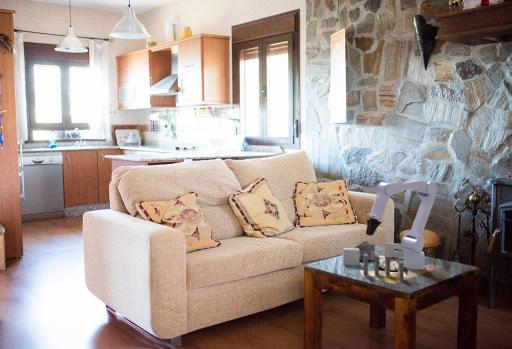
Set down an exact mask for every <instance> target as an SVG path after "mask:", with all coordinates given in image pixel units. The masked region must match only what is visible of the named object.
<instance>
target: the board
mask: <svg viewBox="0 0 512 349" xmlns="http://www.w3.org/2000/svg"><path fill="white" fill-rule="evenodd" d="M359 272H360V275H361V276H362V277H376V276H375V274H374V270H369V269H368V275H364V273H363V270H362V269H361V270H359ZM378 277H388V278H390V277H392V278H393V277H394V278H398V272H390V276H386V274H385V270H379V276H378ZM403 278H408V276H407V275H406V273H405V272H404V275H403Z"/></svg>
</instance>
